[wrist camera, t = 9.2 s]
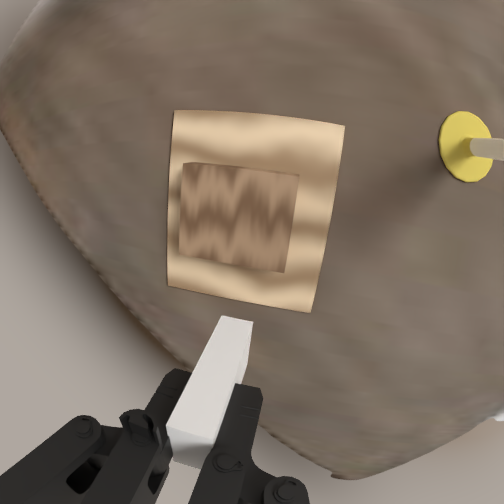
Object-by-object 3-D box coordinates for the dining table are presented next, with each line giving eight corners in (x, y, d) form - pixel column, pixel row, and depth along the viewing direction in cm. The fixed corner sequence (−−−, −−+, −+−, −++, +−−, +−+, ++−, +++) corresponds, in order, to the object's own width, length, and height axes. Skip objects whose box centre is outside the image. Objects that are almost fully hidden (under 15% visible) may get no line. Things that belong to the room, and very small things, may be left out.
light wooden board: (175, 110, 35) (174, 110, 34) (344, 126, 32) (344, 126, 31) (169, 284, 44) (167, 285, 44) (310, 311, 41) (310, 313, 41)
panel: (299, 174, 35) (192, 161, 36) (299, 176, 32) (182, 163, 34) (286, 263, 39) (187, 246, 41) (284, 273, 36) (179, 254, 38)
